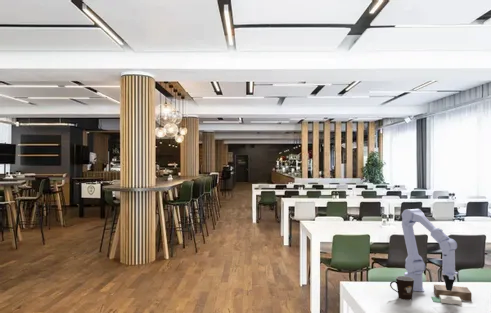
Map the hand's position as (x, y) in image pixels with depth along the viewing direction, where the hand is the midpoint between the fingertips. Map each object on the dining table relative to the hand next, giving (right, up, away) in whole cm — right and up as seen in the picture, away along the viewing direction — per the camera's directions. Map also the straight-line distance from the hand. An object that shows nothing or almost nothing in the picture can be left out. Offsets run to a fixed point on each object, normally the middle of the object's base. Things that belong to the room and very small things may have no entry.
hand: (449, 290), depth 197 cm
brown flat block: (+5, -5, +6) cm, 9 cm away
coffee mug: (-23, -5, +3) cm, 23 cm away
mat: (-3, -5, -1) cm, 6 cm away
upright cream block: (-1, -3, -4) cm, 5 cm away
